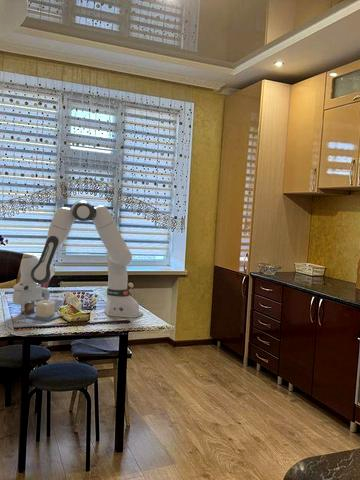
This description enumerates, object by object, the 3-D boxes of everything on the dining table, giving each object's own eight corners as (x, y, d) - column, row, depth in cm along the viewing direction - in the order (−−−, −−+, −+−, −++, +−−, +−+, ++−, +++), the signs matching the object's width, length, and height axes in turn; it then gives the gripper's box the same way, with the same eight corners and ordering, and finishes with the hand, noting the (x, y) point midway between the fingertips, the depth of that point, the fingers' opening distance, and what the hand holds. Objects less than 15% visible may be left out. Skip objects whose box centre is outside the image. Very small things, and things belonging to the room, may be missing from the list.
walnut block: (34, 312, 249) (34, 303, 249) (28, 313, 244) (28, 305, 244) (27, 310, 251) (27, 302, 250) (20, 312, 246) (21, 303, 246)
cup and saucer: (63, 316, 244) (64, 301, 243) (47, 321, 231) (48, 306, 230) (42, 312, 249) (43, 298, 248) (25, 318, 236) (26, 303, 235)
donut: (48, 302, 274) (49, 286, 273) (50, 303, 271) (51, 287, 270) (32, 303, 268) (32, 287, 267) (34, 305, 265) (34, 288, 264)
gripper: (36, 281, 257) (35, 305, 258) (11, 287, 238) (10, 312, 239) (45, 282, 255) (44, 306, 256) (20, 288, 236) (19, 314, 237)
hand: (27, 309), depth 247 cm, fingers closed on walnut block, 5 cm apart
